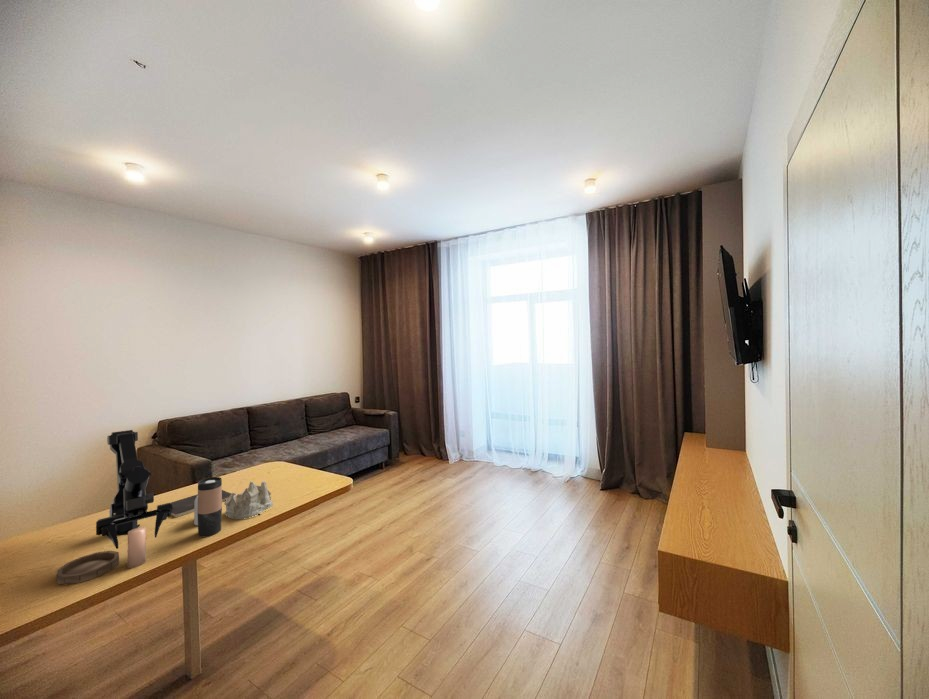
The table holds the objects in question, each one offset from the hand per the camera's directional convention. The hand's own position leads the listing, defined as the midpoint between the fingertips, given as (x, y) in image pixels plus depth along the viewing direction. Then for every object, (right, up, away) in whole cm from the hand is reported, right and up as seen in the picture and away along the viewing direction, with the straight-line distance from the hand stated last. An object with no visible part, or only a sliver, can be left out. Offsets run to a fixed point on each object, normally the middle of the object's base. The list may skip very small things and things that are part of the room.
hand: (137, 542), depth 115 cm
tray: (-12, -7, -3) cm, 15 cm away
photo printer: (0, -8, +30) cm, 31 cm away
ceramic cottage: (+13, -8, +39) cm, 42 cm away
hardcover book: (-15, -8, +46) cm, 49 cm away
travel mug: (+9, -8, +21) cm, 24 cm away
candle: (-1, -7, 0) cm, 7 cm away
